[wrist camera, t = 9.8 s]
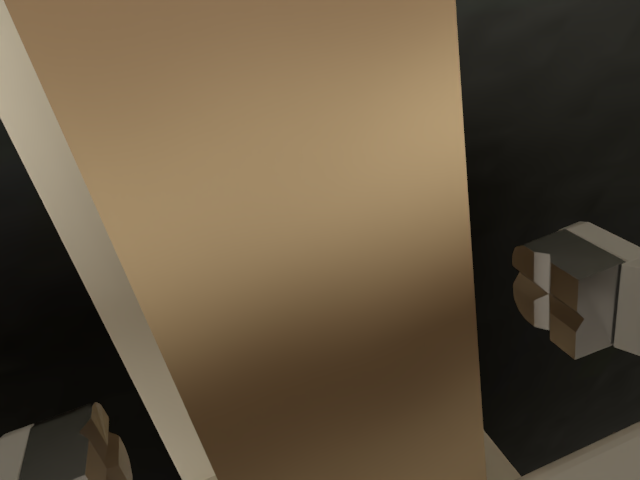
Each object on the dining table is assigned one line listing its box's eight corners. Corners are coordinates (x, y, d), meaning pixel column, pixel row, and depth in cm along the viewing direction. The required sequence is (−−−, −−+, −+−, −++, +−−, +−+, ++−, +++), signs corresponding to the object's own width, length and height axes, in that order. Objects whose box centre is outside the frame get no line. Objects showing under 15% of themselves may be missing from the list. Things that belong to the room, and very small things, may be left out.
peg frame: (434, 391, 21) (638, 660, 13) (196, 491, 19) (247, 884, 11) (353, -242, 12) (942, -873, 3) (-127, -167, 10) (-1767, -1196, 1)
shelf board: (413, 435, 16) (491, 556, 12) (257, 501, 15) (295, 653, 12) (328, -103, 9) (444, -159, 6) (38, -43, 8) (-28, -70, 5)
